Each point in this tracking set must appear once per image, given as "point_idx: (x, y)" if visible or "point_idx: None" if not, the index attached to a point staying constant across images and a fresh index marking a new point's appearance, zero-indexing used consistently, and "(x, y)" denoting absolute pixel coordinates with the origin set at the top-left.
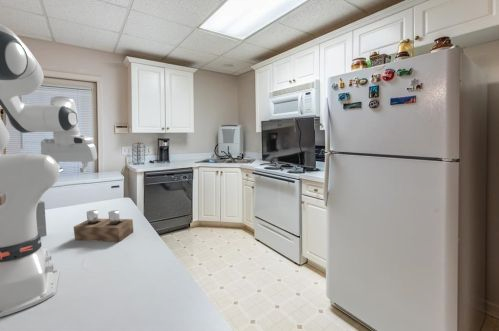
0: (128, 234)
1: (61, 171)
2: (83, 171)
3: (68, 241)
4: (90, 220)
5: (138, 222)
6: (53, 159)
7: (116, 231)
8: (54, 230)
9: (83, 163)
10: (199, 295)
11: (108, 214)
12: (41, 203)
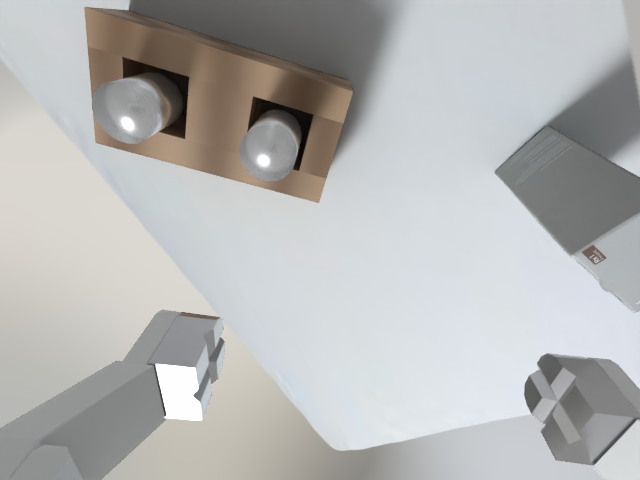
0: None
1: (536, 382)
2: (160, 315)
3: (375, 75)
4: (273, 115)
5: (170, 231)
6: None
7: (111, 12)
8: (478, 217)
9: (20, 468)
10: None
11: (151, 99)
12: (583, 242)
